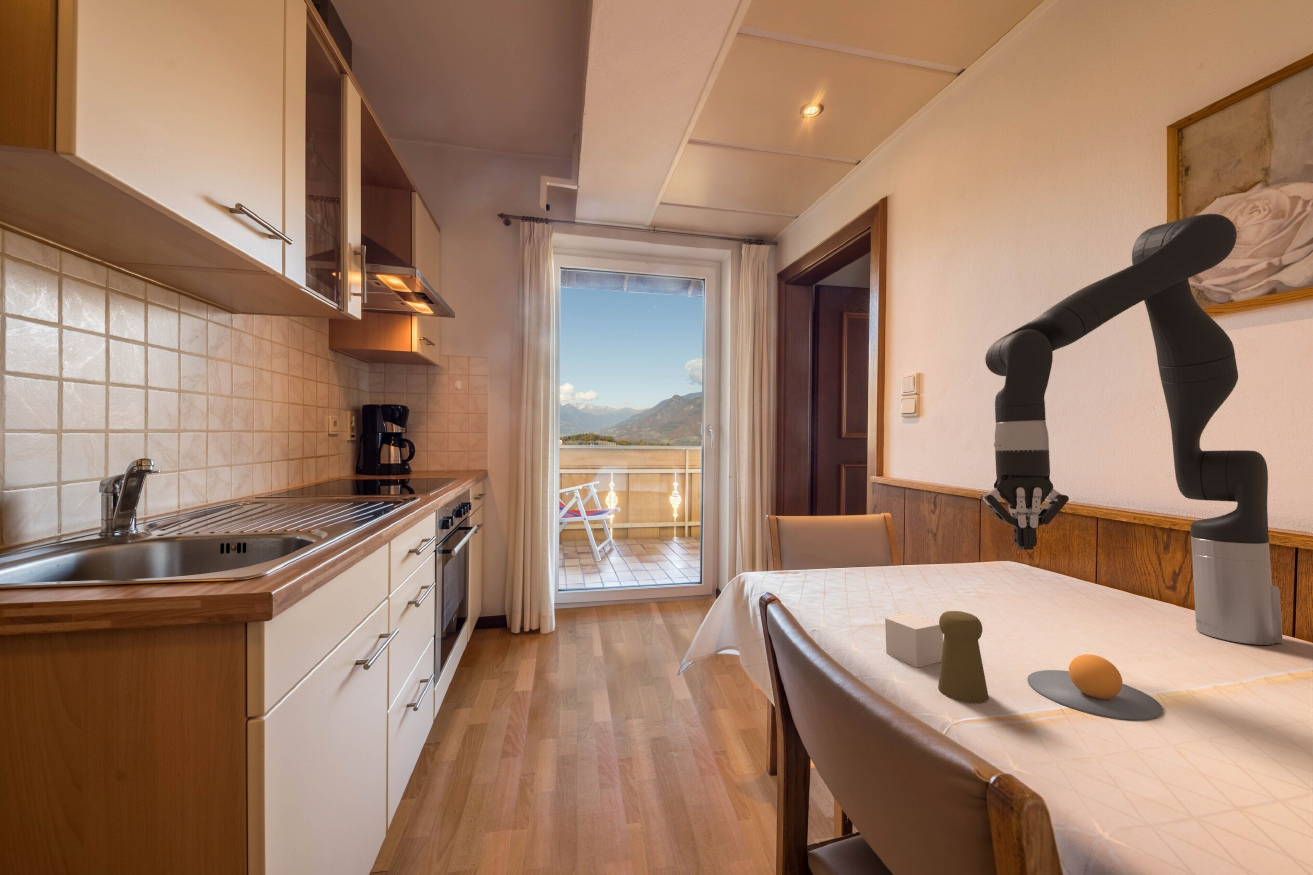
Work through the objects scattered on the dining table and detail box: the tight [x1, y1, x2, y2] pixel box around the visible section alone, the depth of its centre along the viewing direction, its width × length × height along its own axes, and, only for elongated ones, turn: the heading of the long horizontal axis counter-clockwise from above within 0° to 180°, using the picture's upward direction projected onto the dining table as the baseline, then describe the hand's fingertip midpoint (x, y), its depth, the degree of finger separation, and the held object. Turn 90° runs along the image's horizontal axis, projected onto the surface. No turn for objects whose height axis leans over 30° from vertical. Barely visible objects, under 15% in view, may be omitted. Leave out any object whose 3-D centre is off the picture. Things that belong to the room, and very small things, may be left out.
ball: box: [1068, 653, 1124, 699], centre depth 67 cm, size 6×6×6 cm
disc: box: [1027, 669, 1164, 721], centre depth 68 cm, size 14×14×1 cm
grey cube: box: [884, 613, 944, 668], centre depth 82 cm, size 6×6×6 cm
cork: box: [937, 610, 990, 704], centre depth 69 cm, size 6×6×11 cm
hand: (1025, 548), depth 85 cm, fingers closed
